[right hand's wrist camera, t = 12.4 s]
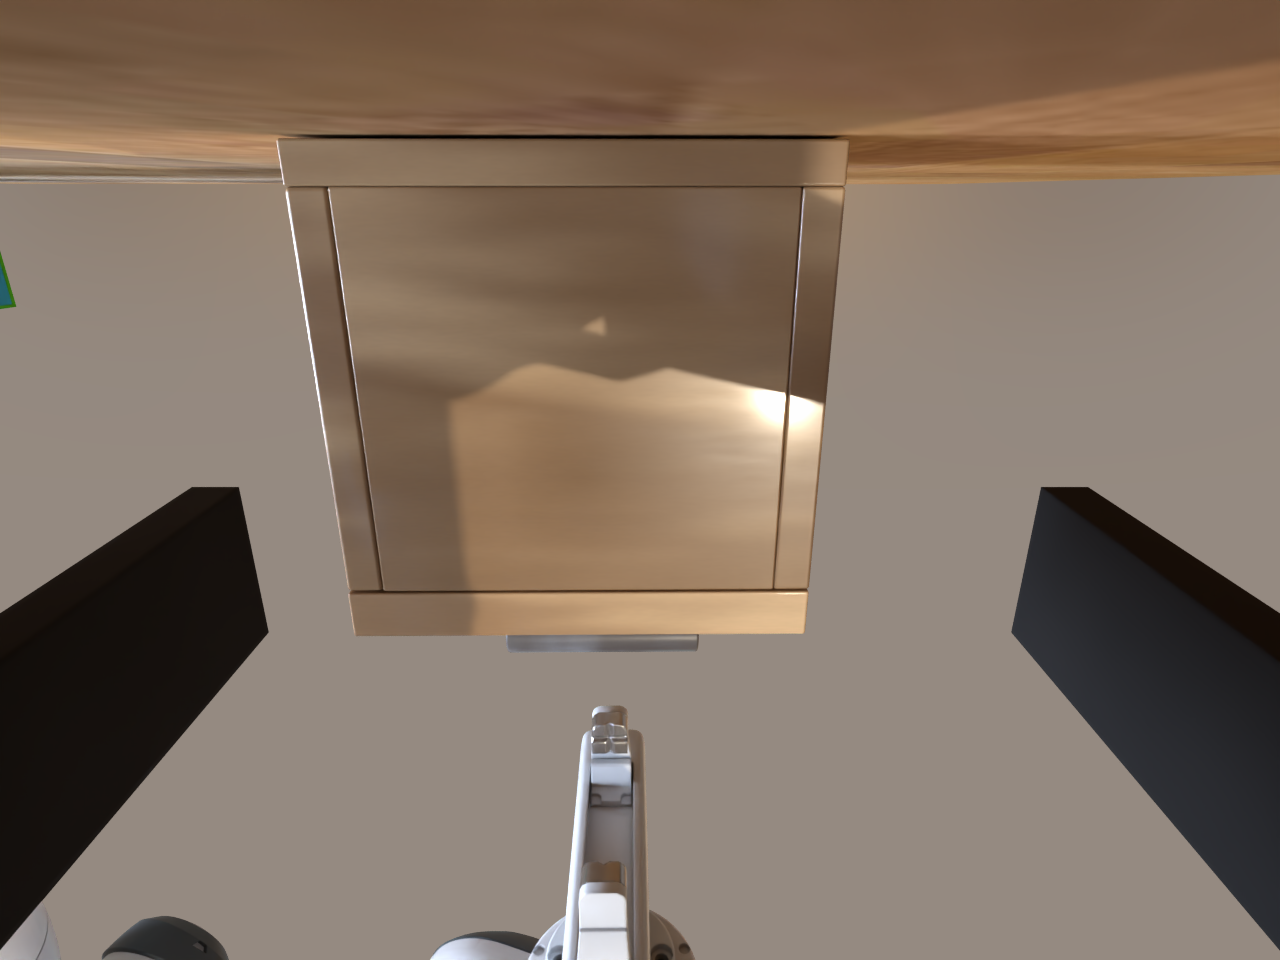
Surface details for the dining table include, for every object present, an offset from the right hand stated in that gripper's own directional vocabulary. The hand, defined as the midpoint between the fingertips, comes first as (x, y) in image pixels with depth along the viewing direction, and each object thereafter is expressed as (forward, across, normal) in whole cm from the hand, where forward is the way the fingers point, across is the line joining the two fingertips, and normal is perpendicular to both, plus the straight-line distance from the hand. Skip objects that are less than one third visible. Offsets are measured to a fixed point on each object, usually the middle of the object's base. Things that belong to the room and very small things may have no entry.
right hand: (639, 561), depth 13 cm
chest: (+10, +1, -7) cm, 12 cm away
